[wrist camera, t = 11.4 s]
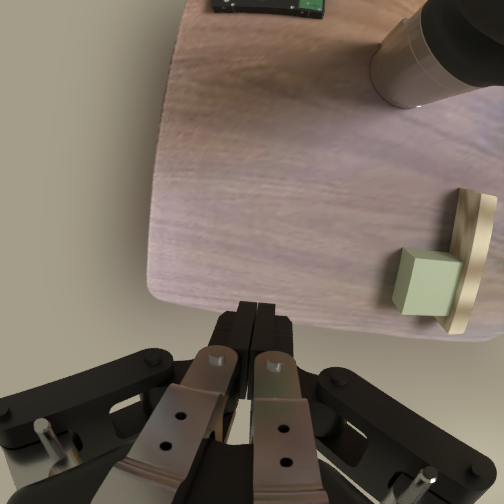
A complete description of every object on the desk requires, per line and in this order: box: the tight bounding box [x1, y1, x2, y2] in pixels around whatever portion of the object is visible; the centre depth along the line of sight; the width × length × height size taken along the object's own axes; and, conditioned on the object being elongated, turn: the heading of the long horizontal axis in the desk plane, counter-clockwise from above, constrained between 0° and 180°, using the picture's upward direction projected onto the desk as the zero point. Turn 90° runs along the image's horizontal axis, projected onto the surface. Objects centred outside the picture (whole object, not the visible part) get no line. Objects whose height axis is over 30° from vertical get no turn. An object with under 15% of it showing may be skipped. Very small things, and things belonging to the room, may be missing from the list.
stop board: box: [434, 188, 497, 334], centre depth 37 cm, size 20×3×6 cm, turn 177°
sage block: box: [392, 248, 464, 316], centre depth 39 cm, size 8×8×5 cm
